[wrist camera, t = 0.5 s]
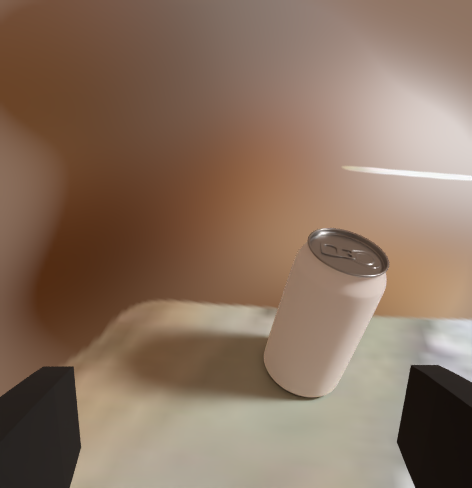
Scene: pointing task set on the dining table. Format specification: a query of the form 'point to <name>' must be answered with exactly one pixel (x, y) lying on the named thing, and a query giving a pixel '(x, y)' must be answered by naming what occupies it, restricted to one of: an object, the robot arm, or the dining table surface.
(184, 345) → the dining table surface
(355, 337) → the can
